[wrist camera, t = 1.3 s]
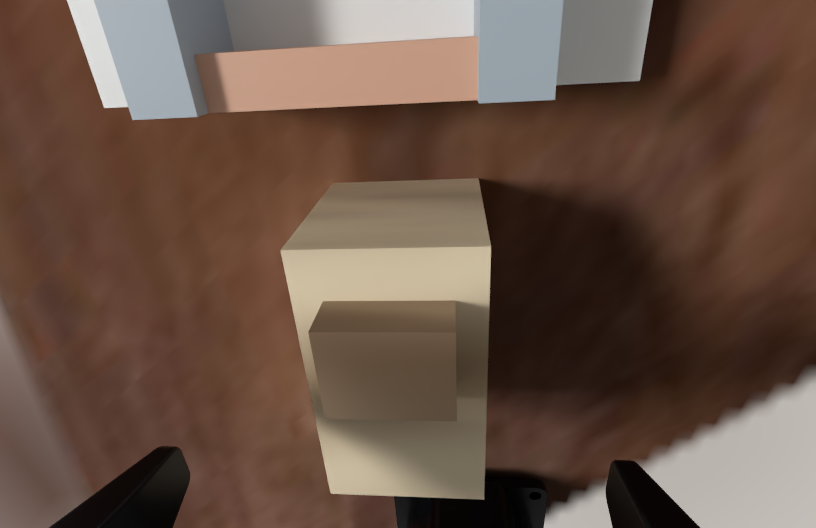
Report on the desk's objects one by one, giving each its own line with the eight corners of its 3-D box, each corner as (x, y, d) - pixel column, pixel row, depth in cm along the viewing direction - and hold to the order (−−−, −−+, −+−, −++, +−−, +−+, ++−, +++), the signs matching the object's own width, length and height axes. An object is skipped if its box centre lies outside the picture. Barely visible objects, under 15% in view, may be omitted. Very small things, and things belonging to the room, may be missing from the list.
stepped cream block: (475, 380, 17) (487, 541, 12) (360, 378, 18) (320, 533, 12) (477, 177, 14) (496, 273, 8) (333, 182, 14) (259, 276, 9)
